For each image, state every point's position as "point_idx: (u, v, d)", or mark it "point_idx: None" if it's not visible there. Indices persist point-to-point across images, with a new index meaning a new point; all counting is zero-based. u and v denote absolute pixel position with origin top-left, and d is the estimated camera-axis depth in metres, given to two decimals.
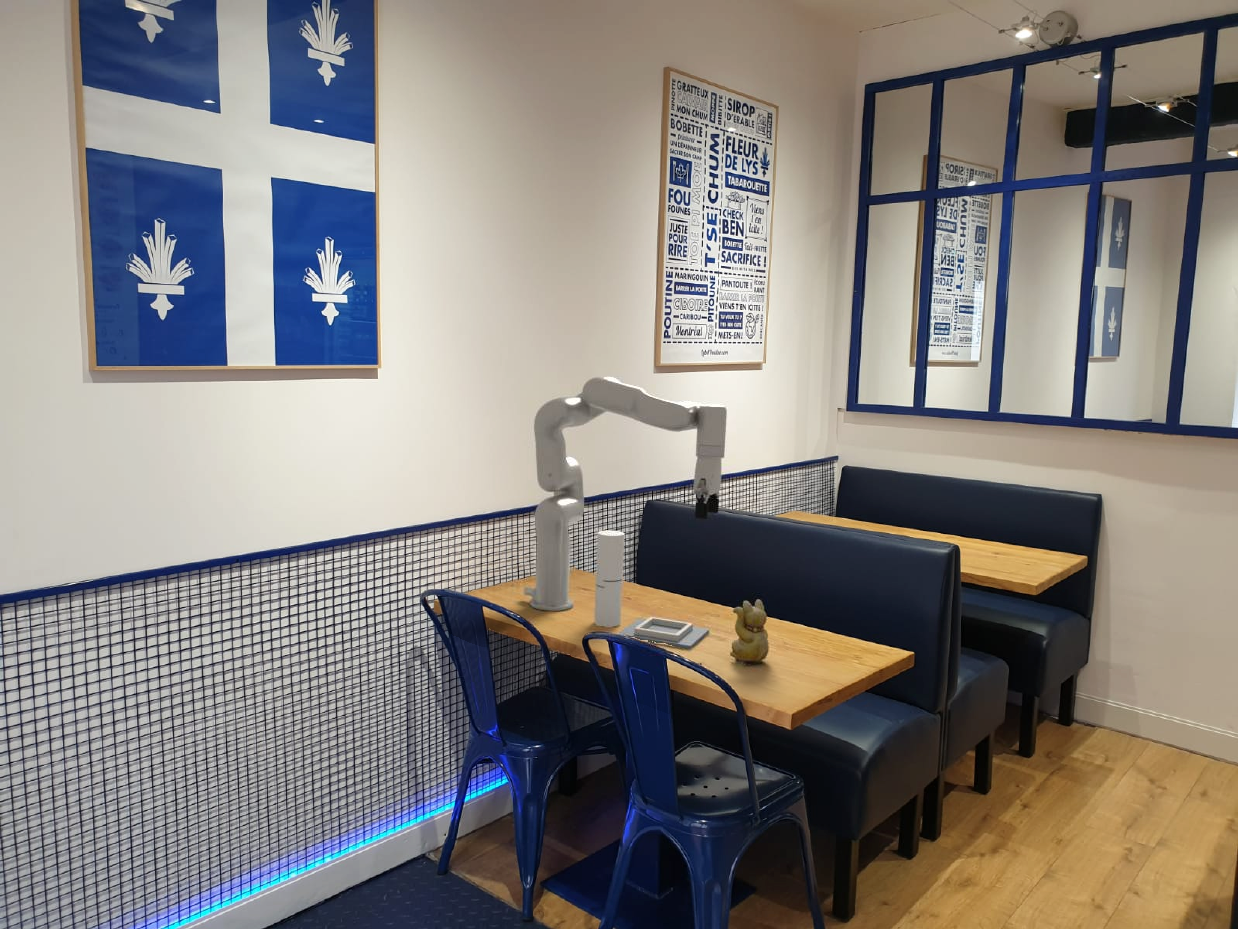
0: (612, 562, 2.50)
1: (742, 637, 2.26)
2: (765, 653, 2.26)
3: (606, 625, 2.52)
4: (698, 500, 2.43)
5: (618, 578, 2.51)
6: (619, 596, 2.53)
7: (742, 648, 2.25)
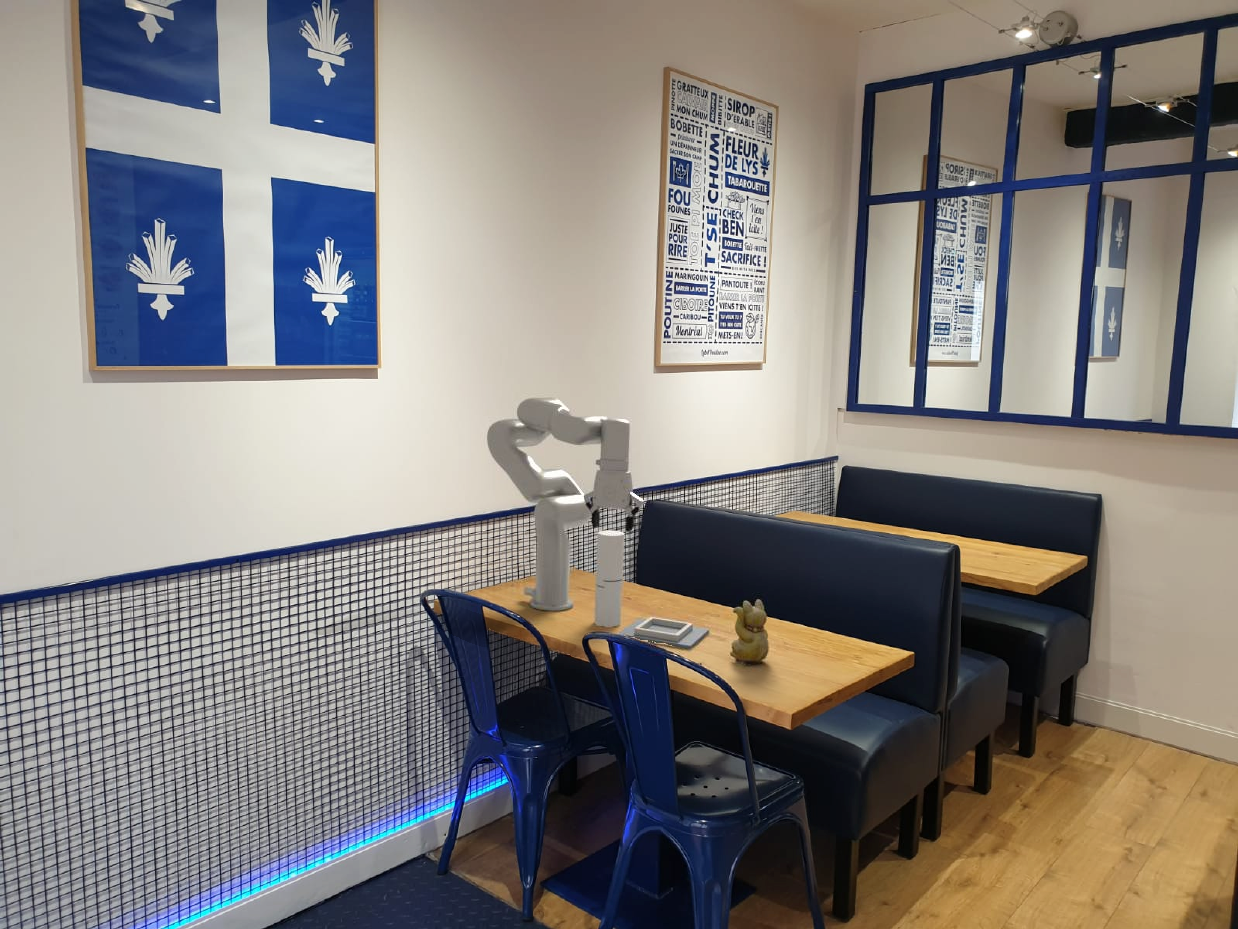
0: (612, 562, 2.50)
1: (742, 637, 2.26)
2: (765, 653, 2.26)
3: (606, 625, 2.52)
4: (635, 513, 2.49)
5: (618, 578, 2.51)
6: (619, 596, 2.53)
7: (742, 648, 2.25)
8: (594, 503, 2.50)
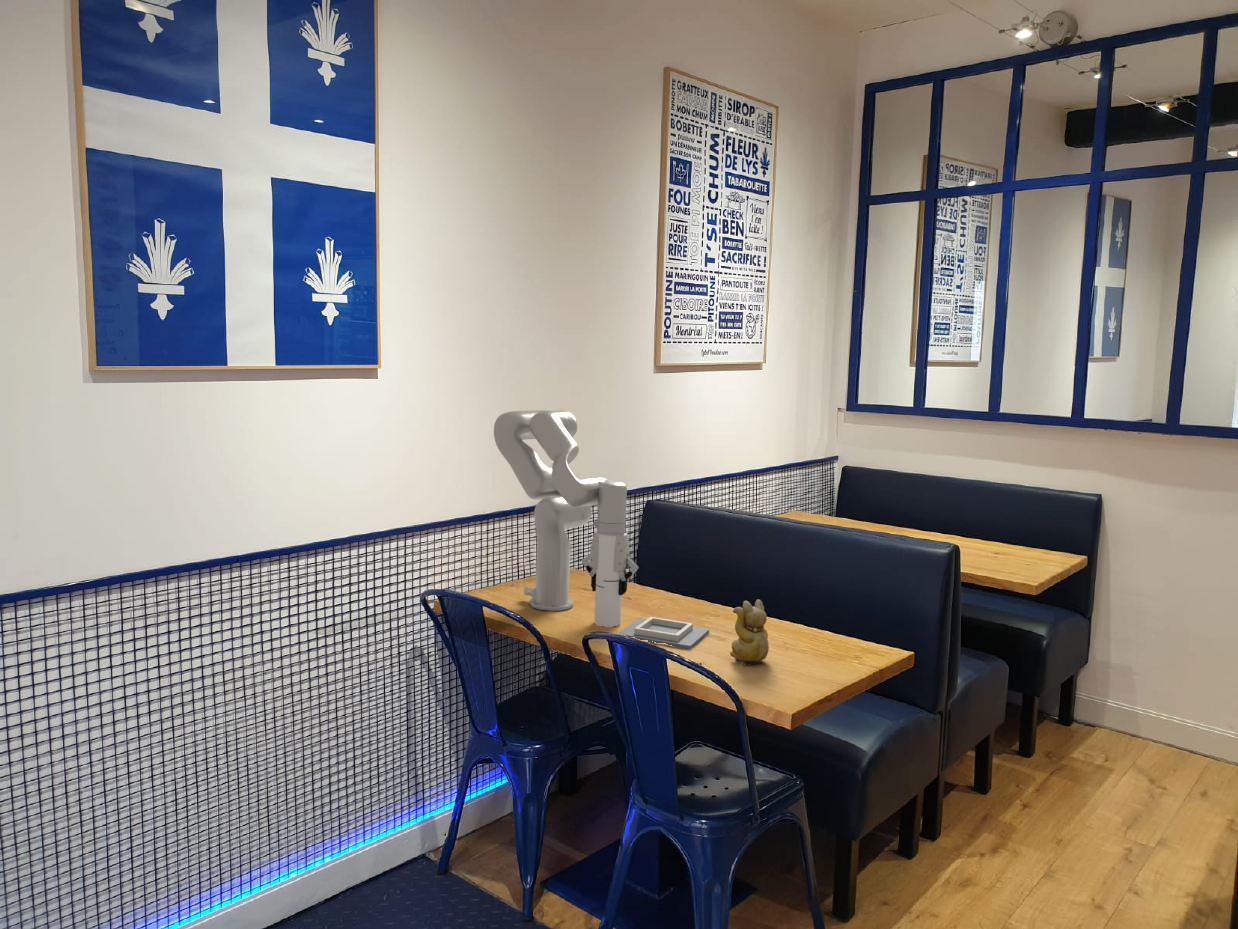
0: (612, 562, 2.50)
1: (742, 637, 2.26)
2: (765, 653, 2.26)
3: (606, 625, 2.52)
4: (628, 577, 2.51)
5: (618, 578, 2.51)
6: (619, 596, 2.53)
7: (742, 648, 2.25)
8: (591, 565, 2.53)
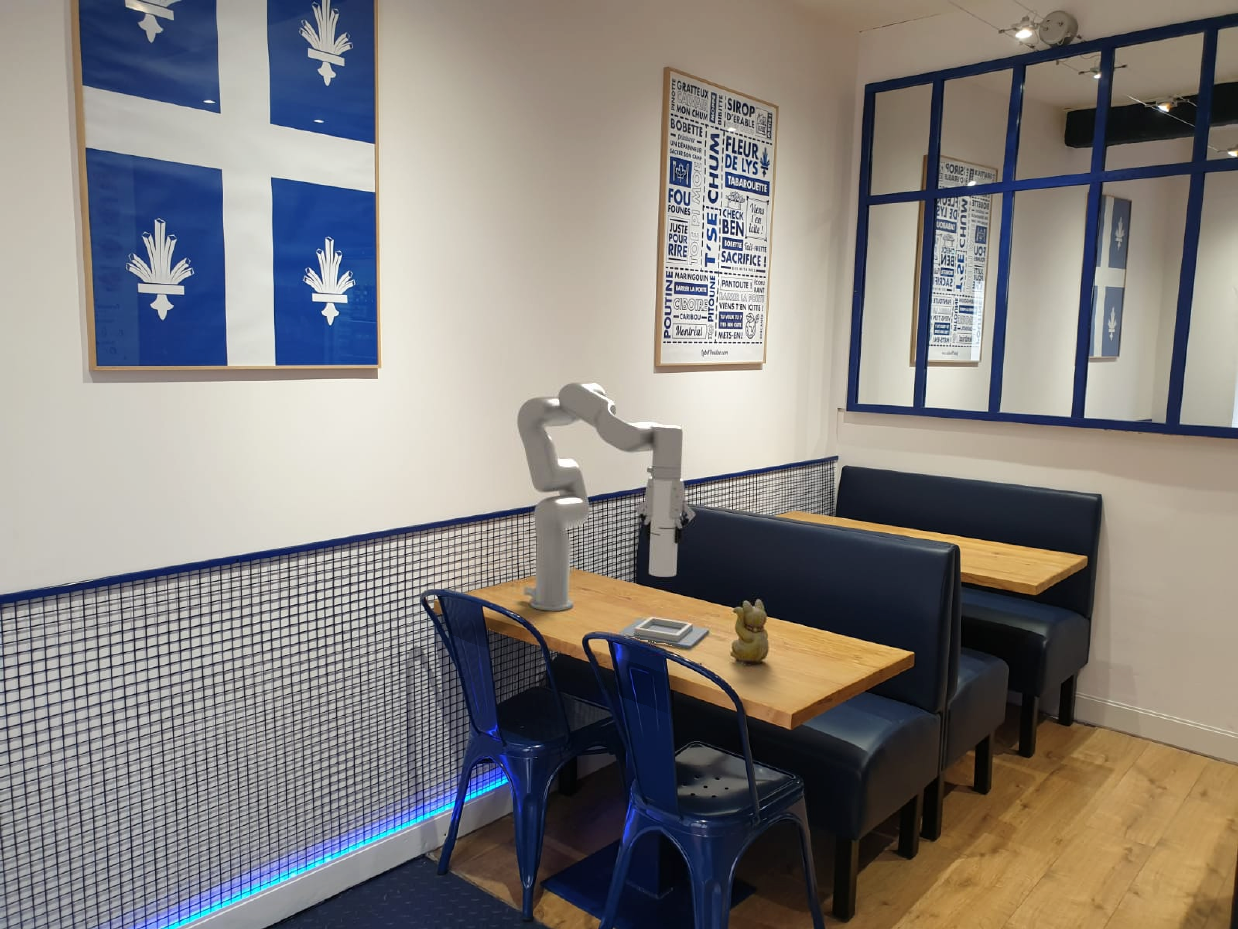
0: (668, 508, 2.40)
1: (742, 637, 2.26)
2: (765, 653, 2.26)
3: (662, 574, 2.42)
4: (685, 524, 2.42)
5: (674, 525, 2.42)
6: (675, 544, 2.43)
7: (742, 648, 2.25)
8: (645, 512, 2.43)
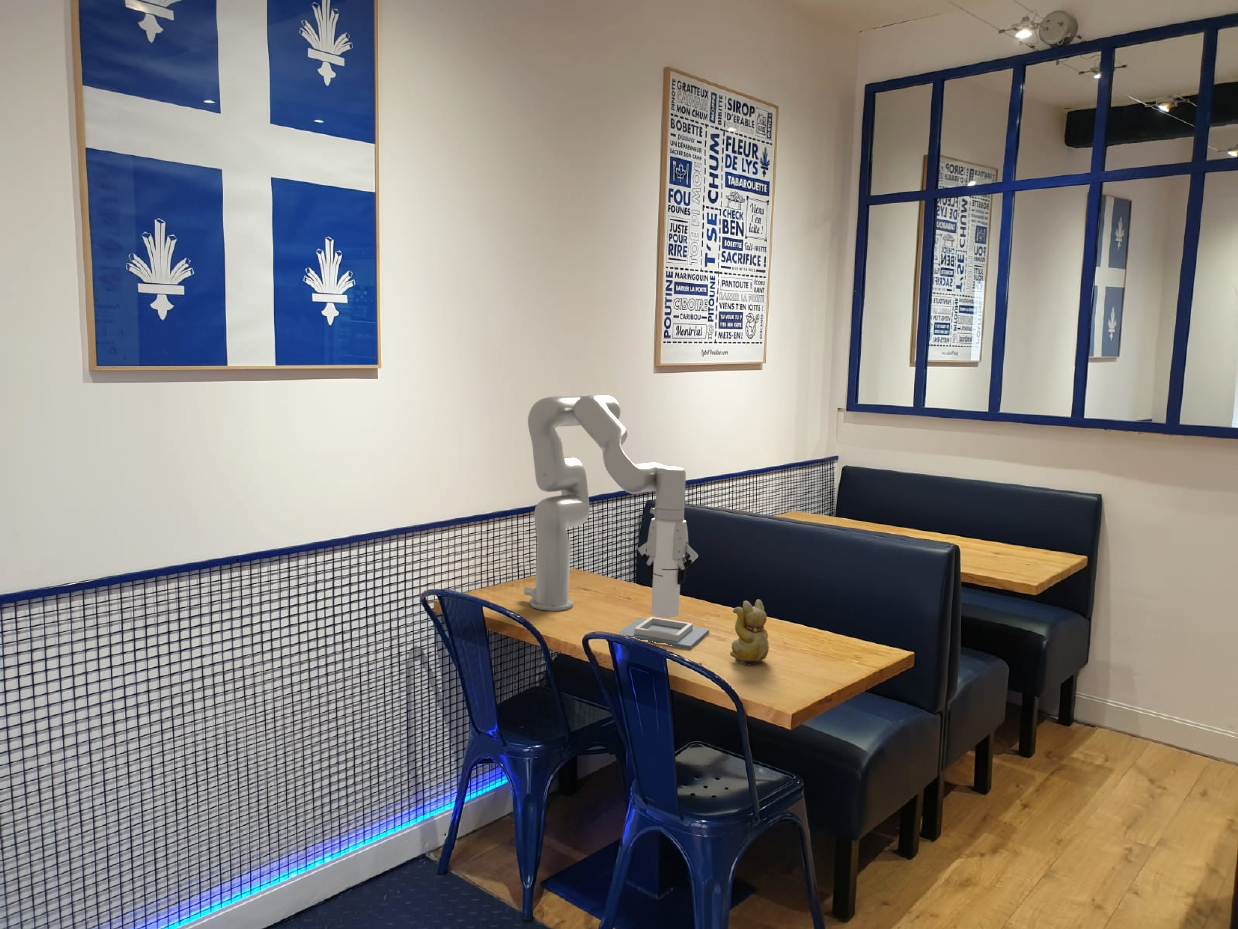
0: (671, 550, 2.41)
1: (742, 637, 2.26)
2: (765, 653, 2.26)
3: (664, 615, 2.43)
4: (687, 566, 2.42)
5: (677, 566, 2.42)
6: (678, 585, 2.43)
7: (742, 648, 2.25)
8: (648, 553, 2.44)
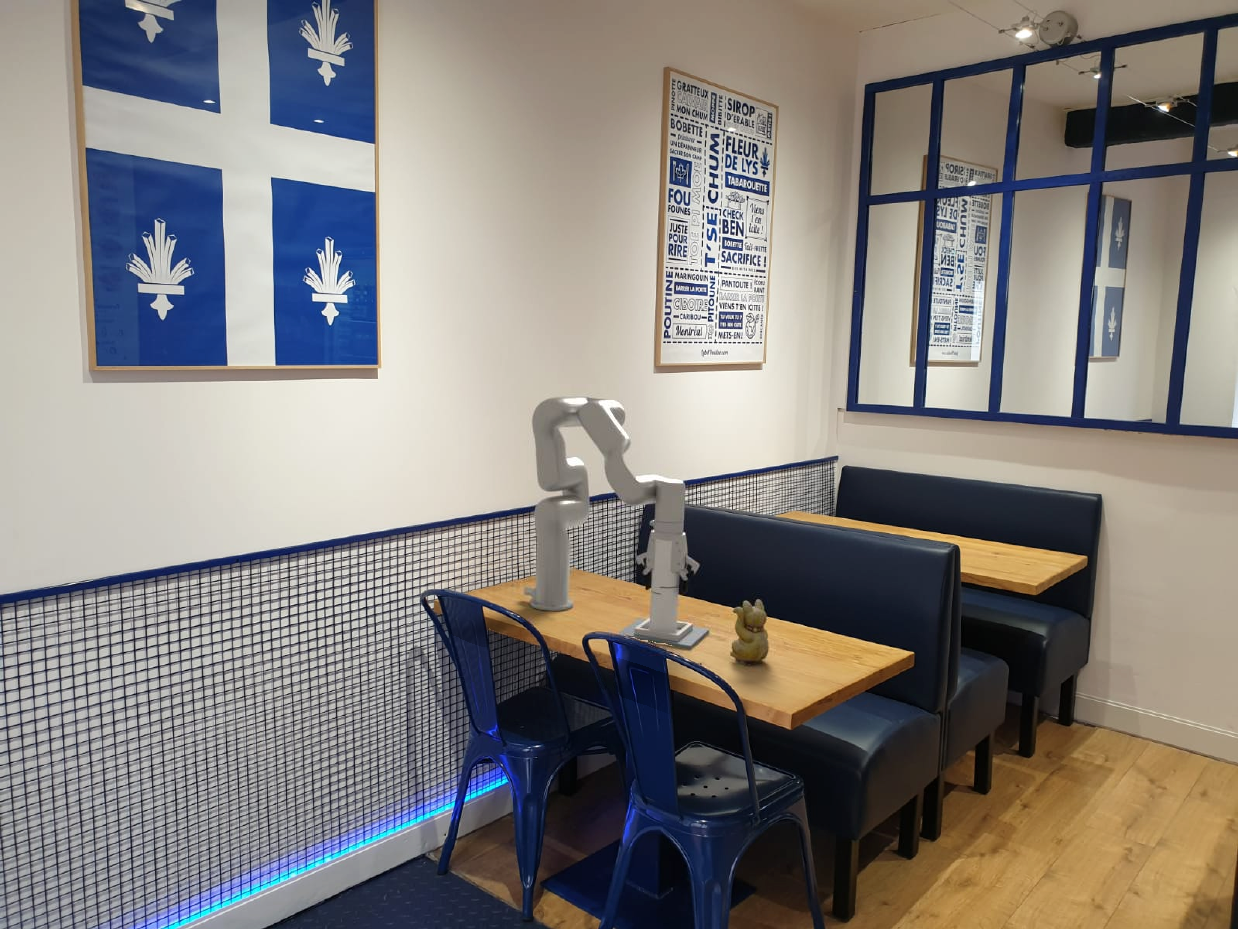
0: None
1: (742, 637, 2.26)
2: (765, 653, 2.26)
3: None
4: (690, 576, 2.42)
5: (675, 584, 2.43)
6: (676, 603, 2.44)
7: (742, 648, 2.25)
8: (648, 565, 2.44)
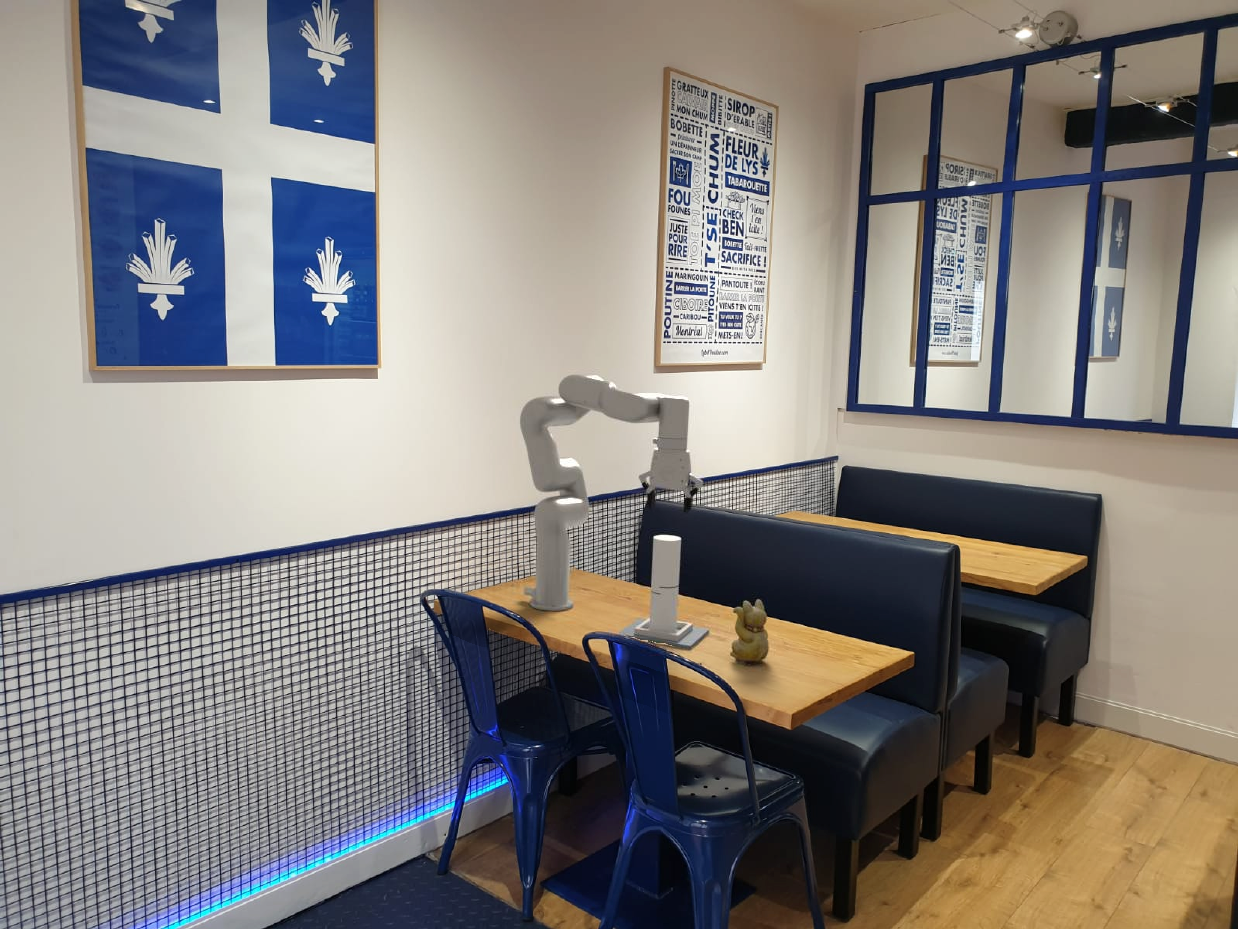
0: (669, 568, 2.42)
1: (742, 637, 2.26)
2: (765, 653, 2.26)
3: None
4: (694, 494, 2.40)
5: (675, 584, 2.43)
6: (675, 603, 2.44)
7: (742, 648, 2.25)
8: (651, 483, 2.42)
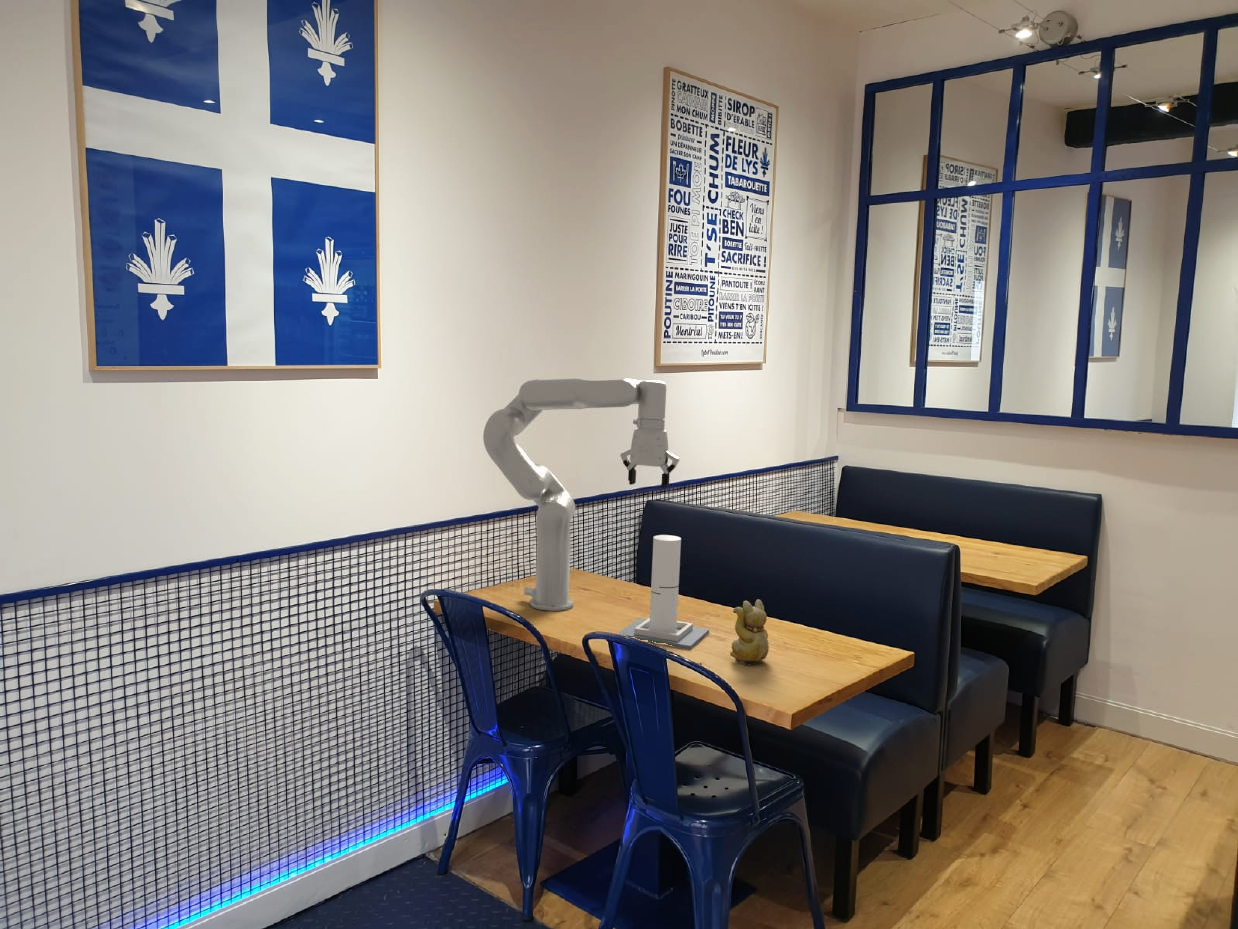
0: (669, 568, 2.42)
1: (742, 637, 2.26)
2: (765, 653, 2.26)
3: None
4: (671, 470, 2.61)
5: (675, 584, 2.43)
6: (675, 603, 2.44)
7: (742, 648, 2.25)
8: (631, 461, 2.62)
